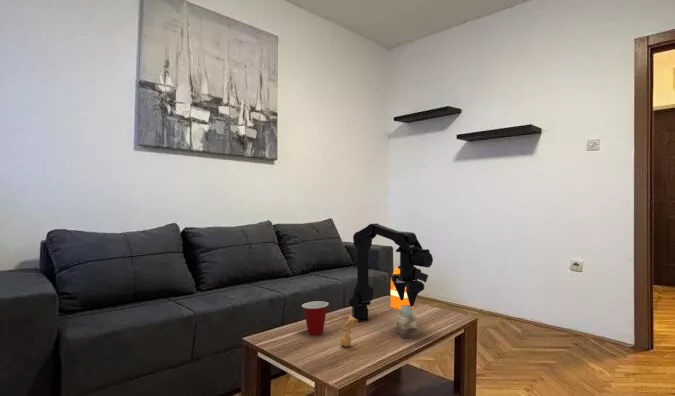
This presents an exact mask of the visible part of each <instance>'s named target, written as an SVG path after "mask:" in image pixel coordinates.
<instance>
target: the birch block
mask: <svg viewBox="0 0 675 396" xmlns="http://www.w3.org/2000/svg"><path fill="white" fill-rule="evenodd" d="M395 316H396V317H395V321H396V322H395V323H396V324H395V325H396V326H397V325H398V326H399V327H401V328H402V329H410V328H417V329H418V327H417V326H418V317H416V316H415V315H413V314H412V317H411V318H404V317H401V313H398V314H395Z"/></svg>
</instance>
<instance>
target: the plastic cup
mask: <svg viewBox="0 0 675 396" xmlns="http://www.w3.org/2000/svg"><path fill="white" fill-rule="evenodd" d="M328 306H329V302H327V301H319V300H318V301H317V300H316V301H315V300H314V301H308V302H306V303H303V304H302V305H301V307H302V309H303V312H304V315H305V316H304V317H305V322H306V323H305V324H306V327H307V333H309V334H308V335H309V336H314V335H315V336H316V335H317V336H321V335H322V334H323V333H324V326H325V321H326V316H327V315H326V314H327V310H328Z"/></svg>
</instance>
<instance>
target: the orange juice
mask: <svg viewBox="0 0 675 396" xmlns="http://www.w3.org/2000/svg"><path fill="white" fill-rule="evenodd" d="M393 274H400V269H398V265H396V266H395V268H394V270H393V273H392V275H393ZM404 304H407V305H410V303H409V300H408V297H407V293H406V287H405V293H404V300H400V297H399V295H398V293H397V290H396V288H395V286H394V284H393V281H391V280H390V307H391V308H394V309H398V310H401V305H404ZM412 309H414V306H412Z"/></svg>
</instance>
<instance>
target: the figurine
mask: <svg viewBox="0 0 675 396" xmlns="http://www.w3.org/2000/svg"><path fill="white" fill-rule="evenodd" d="M358 322H359V321H358V320H357V319H355V318H353V317H352V314H349V315H348V320H347V321H345V323H344V325H342V327H341V328H340V331H342V329H343V328H344V331H345V332H344V333H346V334H345V335H342V337H340V344H341V346H343V347H345V348H346V347H350V345H351V344H352V338H351V337H350V335H351V329H352V328H353V327H354V325H353V324H355V326H358Z"/></svg>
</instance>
